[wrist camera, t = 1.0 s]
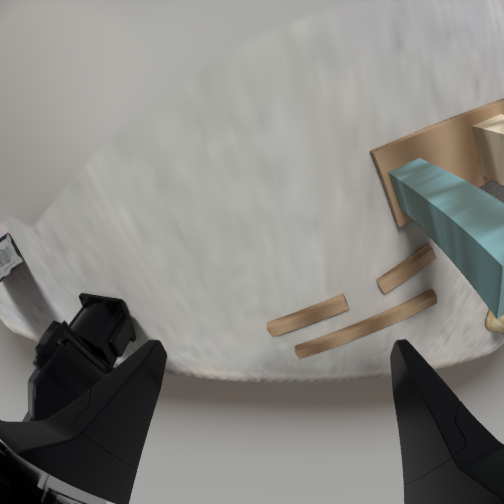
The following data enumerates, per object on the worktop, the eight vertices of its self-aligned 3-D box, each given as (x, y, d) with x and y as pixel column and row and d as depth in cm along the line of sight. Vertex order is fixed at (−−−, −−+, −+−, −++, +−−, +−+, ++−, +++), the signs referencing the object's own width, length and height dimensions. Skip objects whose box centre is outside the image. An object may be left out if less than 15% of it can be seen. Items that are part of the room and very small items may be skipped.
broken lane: (291, 354, 29) (291, 361, 28) (261, 314, 26) (261, 321, 26) (437, 294, 24) (441, 300, 23) (429, 242, 21) (434, 247, 20)
